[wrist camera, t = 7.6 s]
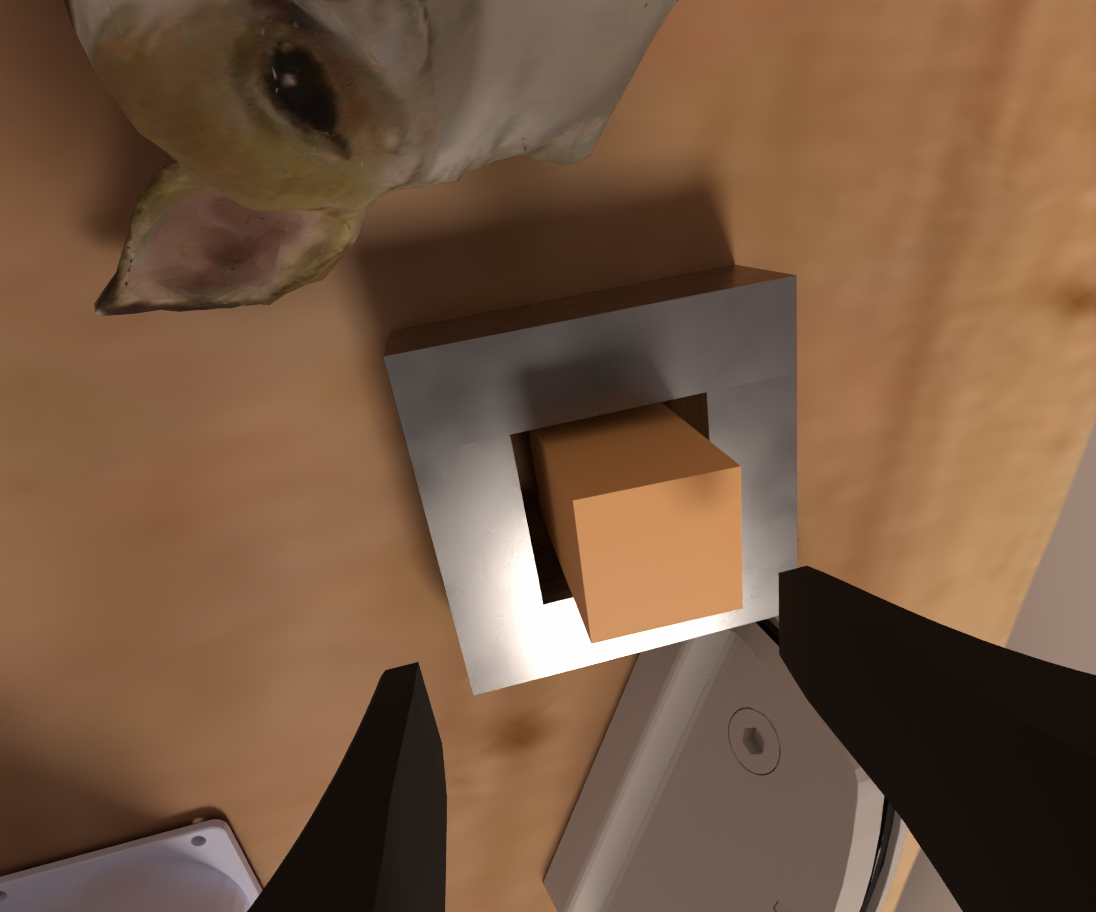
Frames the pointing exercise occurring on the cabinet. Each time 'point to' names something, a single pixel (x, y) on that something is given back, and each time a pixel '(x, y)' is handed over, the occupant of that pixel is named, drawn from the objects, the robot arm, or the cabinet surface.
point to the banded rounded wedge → (724, 794)
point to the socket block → (581, 392)
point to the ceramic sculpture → (333, 120)
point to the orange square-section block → (641, 519)
